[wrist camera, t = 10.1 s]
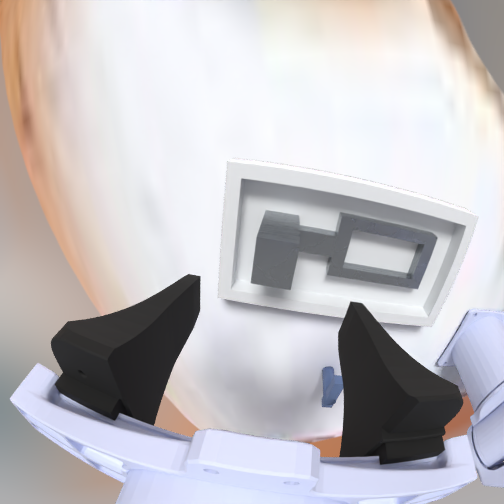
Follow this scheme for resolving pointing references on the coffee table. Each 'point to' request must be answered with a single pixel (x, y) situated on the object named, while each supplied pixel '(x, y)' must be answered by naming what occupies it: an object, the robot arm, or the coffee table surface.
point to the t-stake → (331, 387)
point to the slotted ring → (332, 250)
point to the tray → (360, 247)
